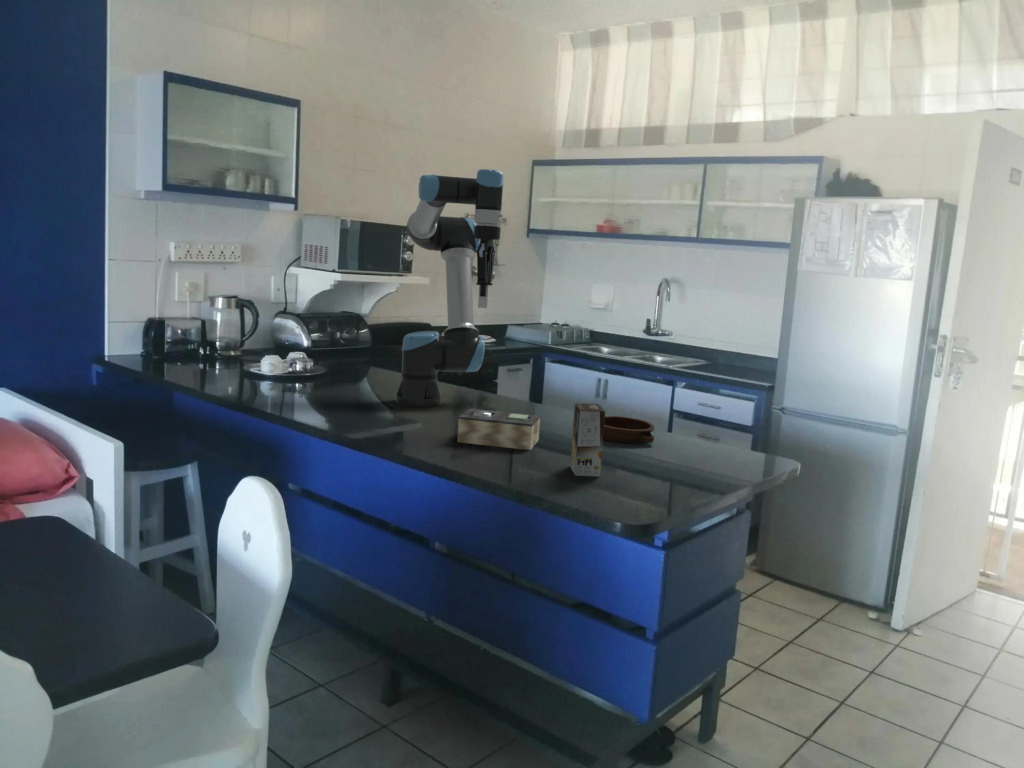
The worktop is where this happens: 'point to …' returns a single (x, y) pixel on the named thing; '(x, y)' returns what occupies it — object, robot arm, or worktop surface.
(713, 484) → the worktop surface
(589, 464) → the coffee box
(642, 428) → the dish
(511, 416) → the sage peg
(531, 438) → the socket block
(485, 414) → the metal peg
